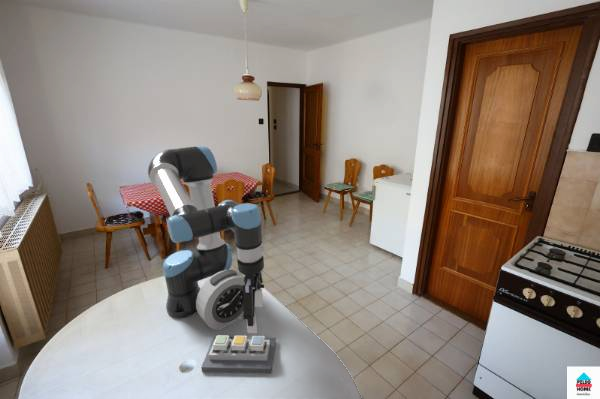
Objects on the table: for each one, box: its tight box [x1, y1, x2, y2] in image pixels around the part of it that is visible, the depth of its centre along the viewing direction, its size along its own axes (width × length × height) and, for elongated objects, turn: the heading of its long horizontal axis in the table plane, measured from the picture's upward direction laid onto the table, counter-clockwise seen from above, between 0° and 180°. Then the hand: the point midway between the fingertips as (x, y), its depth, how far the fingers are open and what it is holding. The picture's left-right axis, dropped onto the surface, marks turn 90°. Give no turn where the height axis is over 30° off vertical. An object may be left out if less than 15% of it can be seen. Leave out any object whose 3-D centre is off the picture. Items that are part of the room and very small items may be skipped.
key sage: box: [213, 334, 230, 350], centre depth 92 cm, size 4×4×2 cm
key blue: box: [250, 335, 266, 351], centre depth 91 cm, size 4×4×2 cm
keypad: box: [201, 336, 277, 374], centre depth 93 cm, size 22×12×4 cm, turn 88°
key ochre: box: [232, 335, 248, 350], centre depth 92 cm, size 4×4×2 cm
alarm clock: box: [196, 269, 254, 331], centre depth 108 cm, size 21×8×20 cm, turn 132°
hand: (255, 318), depth 88 cm, fingers open, 10 cm apart
